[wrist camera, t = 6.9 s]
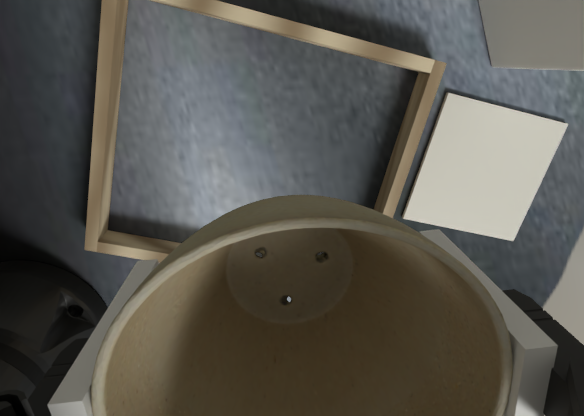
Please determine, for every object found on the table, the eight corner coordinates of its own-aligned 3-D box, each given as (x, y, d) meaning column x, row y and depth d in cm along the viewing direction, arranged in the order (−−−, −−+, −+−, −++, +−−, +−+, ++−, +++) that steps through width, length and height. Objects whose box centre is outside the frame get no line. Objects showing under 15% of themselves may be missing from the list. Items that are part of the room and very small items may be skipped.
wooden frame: (95, 237, 37) (84, 249, 34) (116, -24, 30) (103, -31, 27) (358, 283, 41) (364, 297, 38) (433, 62, 33) (446, 63, 31)
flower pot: (190, 375, 18) (144, 568, 11) (140, 158, 14) (27, 248, 7) (409, 350, 18) (495, 522, 11) (414, 131, 14) (545, 193, 8)
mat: (401, 217, 38) (403, 218, 38) (446, 92, 34) (448, 92, 34) (510, 239, 40) (513, 241, 40) (565, 123, 36) (568, 124, 36)
